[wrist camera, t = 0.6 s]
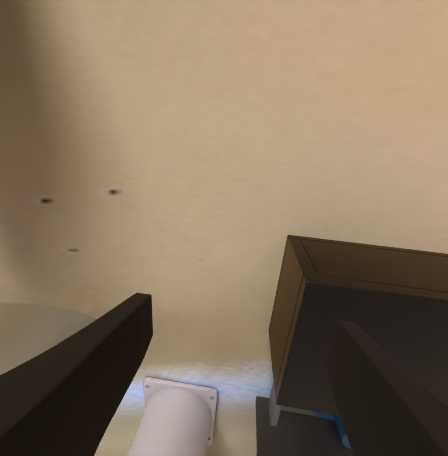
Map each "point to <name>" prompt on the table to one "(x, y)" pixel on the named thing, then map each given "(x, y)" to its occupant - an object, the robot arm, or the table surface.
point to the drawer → (295, 431)
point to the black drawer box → (356, 314)
